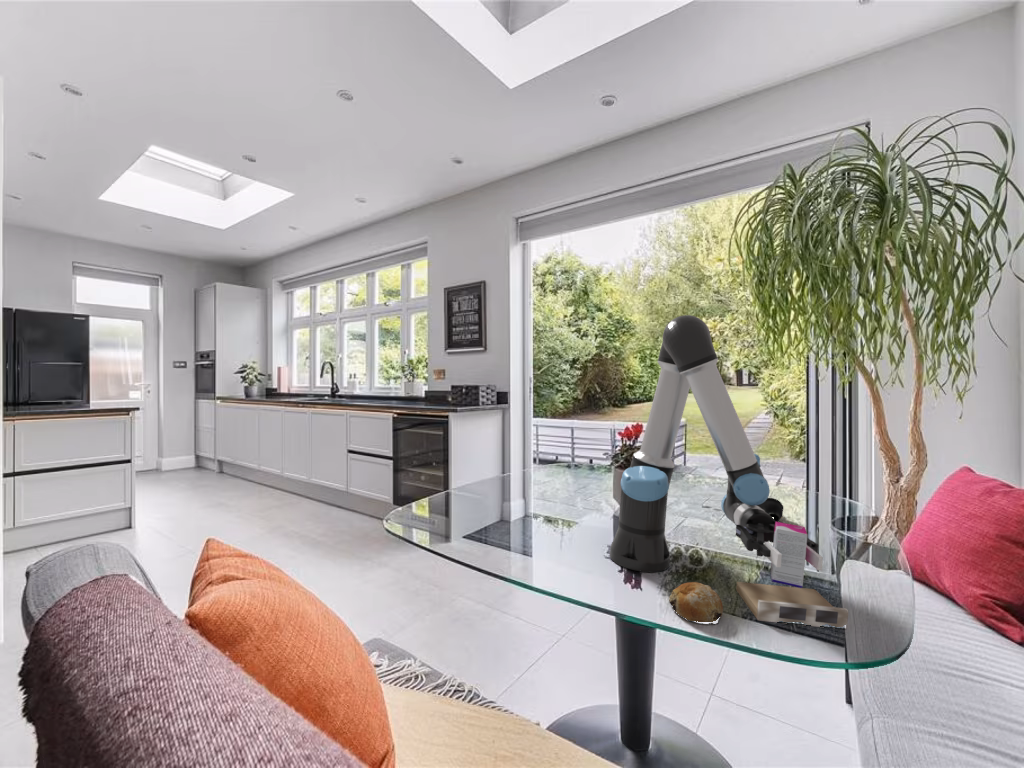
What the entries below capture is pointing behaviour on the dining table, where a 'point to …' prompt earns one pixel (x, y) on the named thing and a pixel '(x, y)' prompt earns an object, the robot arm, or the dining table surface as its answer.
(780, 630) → the dining table surface
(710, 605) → the bread roll
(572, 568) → the dining table surface
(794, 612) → the tan slab
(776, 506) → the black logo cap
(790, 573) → the supplement box
